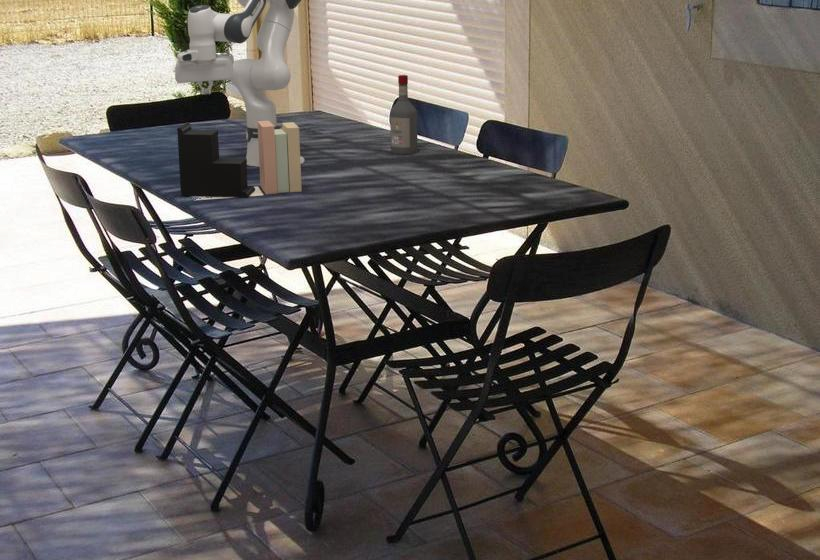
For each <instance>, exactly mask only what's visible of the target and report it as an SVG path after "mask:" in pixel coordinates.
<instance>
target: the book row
mask: <svg viewBox="0 0 820 560" xmlns="http://www.w3.org/2000/svg"><path fill="white" fill-rule="evenodd" d="M257 126H258V145H259V165H260V167H259V179H260V180H259V181H260V188H261V191H263V193H264V195H271V194H272V195H273V194H274V195H275V194H281V193H299V192H300V193H301V192H302V191H303V189H302V169H301V166H302V164H300V156H301V144H300V143H301V141H300V140H301V139H300V127H299V126H298V125H297V124H296V123H295V122H282V123H281V127H282V129H274V125H273V124H272V123H271V122H270V121H257Z"/></svg>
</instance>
